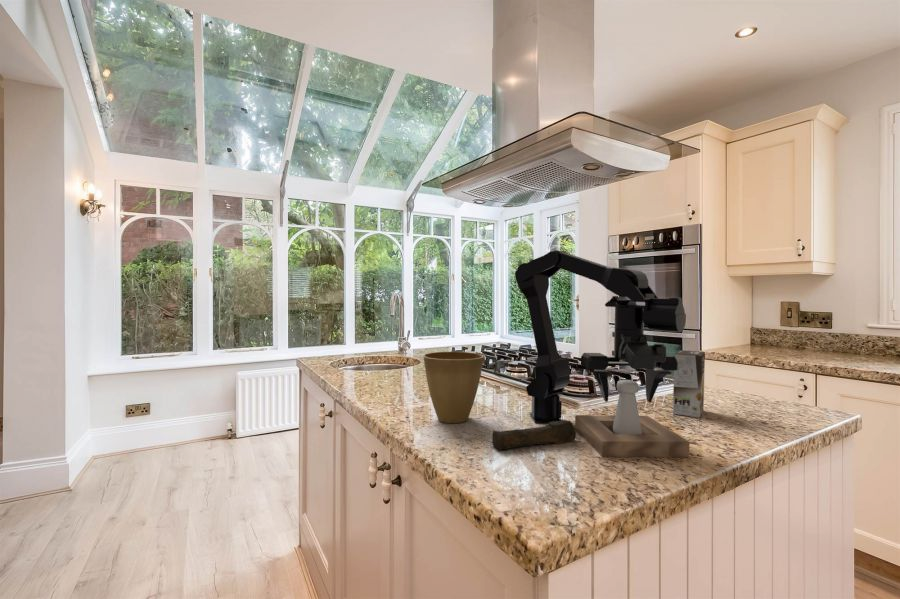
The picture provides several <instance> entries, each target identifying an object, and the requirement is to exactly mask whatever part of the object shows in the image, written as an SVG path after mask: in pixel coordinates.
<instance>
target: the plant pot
mask: <svg viewBox="0 0 900 599" xmlns="http://www.w3.org/2000/svg"><path fill="white" fill-rule="evenodd" d="M423 362H424V371H425V377H426V382H427V383H426V384H427V388H428V391H429V396H430V399H431V403H432V406H433V409H434V412H435V414H436V417H437V420H438V421H440V422H442V423H446V424H460V423H464V422H467V421H468V419H469V417H470V414H471V411H472V409H473V405H474V402H475V399H476V396H477V392H478V389H479V384H480V380H481V375H482V369H483V363H484V355H483V354H481V353H477V352H476V353H475V352H469V351H467V352H466V351H435V352H433V351H432V352H429V353H427V352H426V353H425V354H423Z"/></svg>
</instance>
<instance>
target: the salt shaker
mask: <svg viewBox="0 0 900 599" xmlns="http://www.w3.org/2000/svg"><path fill="white" fill-rule="evenodd" d="M616 391H617V392H618V393H619V394H618V400H617V405H616V409H615V414H614V415H615V419H614V423H613V433H614V434H640V435H642V430H641V424H640V418H639V416H640V414H639V413H640V412H639V409H638V402H637V396H636V394H637V393H638V392H639V383H638V382H636V381H634V380H632V379H620V380H618V381H617V383H616Z"/></svg>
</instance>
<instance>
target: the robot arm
mask: <svg viewBox="0 0 900 599" xmlns="http://www.w3.org/2000/svg"><path fill="white" fill-rule="evenodd" d="M561 270H564V271H567V272H569V273H572V274H575V275H578V276H580V277H584V278H585V279H589V280H590V281H591V280H592V281H595V282H597V283H598V284H600V285H601V286H602V287H604V288H605V289H606V290H608V291H609V292H611V293H612V294H615V295H613V296H611V298H610V299H609V300H608V301H607V302H606V303H605V304H604V306H605V307H607V308H614V331H612V333H611V335H612V338H613V349H614V350H611V356H608V355H605V354H603V353H601V352H583V353H582V354H581V357H580V366H582V367H584V368H586V370H588V371H590V372H591V373H592V374H593V377H594V379H595V380H596V382H597V385H598V387H599V391H600V393H601V396H602V398H603V401H604V402H605V403H608V402H609V382H608V381H609V379H608V378H609V375H610V371H608V370H607V368H608V367H609V366H611V367H612V366H614V367H615V366H618V367H620V366H623V367H627V366H628V367H630V368H631V369H633V370H639V371H640V370H643V369H644V370H645V397H646V401H647V402H648V403H652V400H653V398H654V397H655V393H656V391H657V388H658V387H659V384H660V383H661V381H662V380H663V379H664V378H665V377H666V376H668V375H671V374H672V372H674V371H677V370H678V360H677V359H676V357H674V355H670V354H668V353H667V347H666V346H665V345H664V344H662V343H658V344H657V343H655V344H653V345H651V344H648V338H647V334H645V333H644V331H645V330H644V329H645V328H644V326H645V327H647V328H648V330H649V331H653V332H654V331H656V332H669V333H683V331H684V329H685V326H686V322H687V321H686V320H687V315H686V312H685V308H684V305H683V298H682V297H670V298H660V297H659V296H658V295H656V294H657V293H656V292H655V291H654V290H653V289H652V288H651V287H650V285H649V279H648V276H647V274H645V272H643V271H642V270H637V269H636V270H635V269H628V268H622V267H621V268H620V267H612V266H608V265H604V264H601V263H598V262H595V261H592V260H590V259H586V258H584V257H580V256H576V255H573V254H571V253H568V252H567V251H565V250H557V249H553V250H551V251H549V252H547V253H546V254H544V255H542V256H539V257H537V258H536V257H535V258H534V259H532V260H530V261H528V262H523V263H520V264H519V265H518V266H517V269H516V270H515V273H514V278H515V281H516V284H517V287H518V289H519V291H520V292H521V294H522V295H523V297H524V298H525V299H526V301H527V306H528V312H529V318H530V321H531V322H530V323H531V328H532V332H533V337H534V343H535V347H536V352H537V358H536V362H535V365H534V379H533V380H532V381H531V382H530V383H529V384H528V385H526V387H525V390H526V393H527V396H529V397H531V412H530V413H529V416H530V417H531V419H532V421H533V422H534V423H537V424H538V423H548V424H549V422H553V421H562V420H561V418H562V401H561V400H560V397H561V396H560V394H563V392H564V390H565V388H566V387H567V386H568V385H569V383H570V381H571V375H572V374H573V373H572V371H571V369H570V366H569V365H570V363H569V359H568V358H567V357H565V358H563V357H562V356H561V354H560V353H559V352H558V348H557V343H556V336H555V333H554V328H553V324H552V318H551V315H550V313H551V312H550V309H549V308H550V307H549V303H548V299H547V296H548V295H547V294H548V291H549V287H550V279H551V277H553V276H555V275H556V274H558V273H559V271H561ZM549 278H550V279H549ZM620 297H622V298H628V299H621V298H620ZM637 303H644V304H637Z"/></svg>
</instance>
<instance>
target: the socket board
mask: <svg viewBox="0 0 900 599" xmlns="http://www.w3.org/2000/svg"><path fill="white" fill-rule="evenodd" d="M574 416H575V417H574V420H575V422H574V428H575V430H577V431H578V433H580V435H581V436H582V437H583V439H585V440H586V441H587V443H588V444H590V446H592V448H593V449H594V450H595V451H596V452H597V453H598V454H599V455H600V457H606V458H607V457H608V458H609V457H610V458H611V457H614V458H617V457H618V458H621V457H623V458H625V457H627V458H628V457H629V458H630V457H631V458H690V442H691V441H689V440H688V439H686V438H684V437H682V436H681V435H679V434H678V433H676V432H675V431H673V430H671V429H670V428H668V426H666V425H663V424H662V423H660V422H659V421H657V420H655V419H653V418H652V417H651V416H649V415H639V418H640V424H641V430H642V435H640V434H614V433H613V423H614V419H615V414H614V415H611V414H610V415H605V414H602V415H600V414H599V415H598V414H597V415H595V414H592V415H591V414H589V415H588V414H586V415H585V414H583V415H581V414H575V415H574Z"/></svg>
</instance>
